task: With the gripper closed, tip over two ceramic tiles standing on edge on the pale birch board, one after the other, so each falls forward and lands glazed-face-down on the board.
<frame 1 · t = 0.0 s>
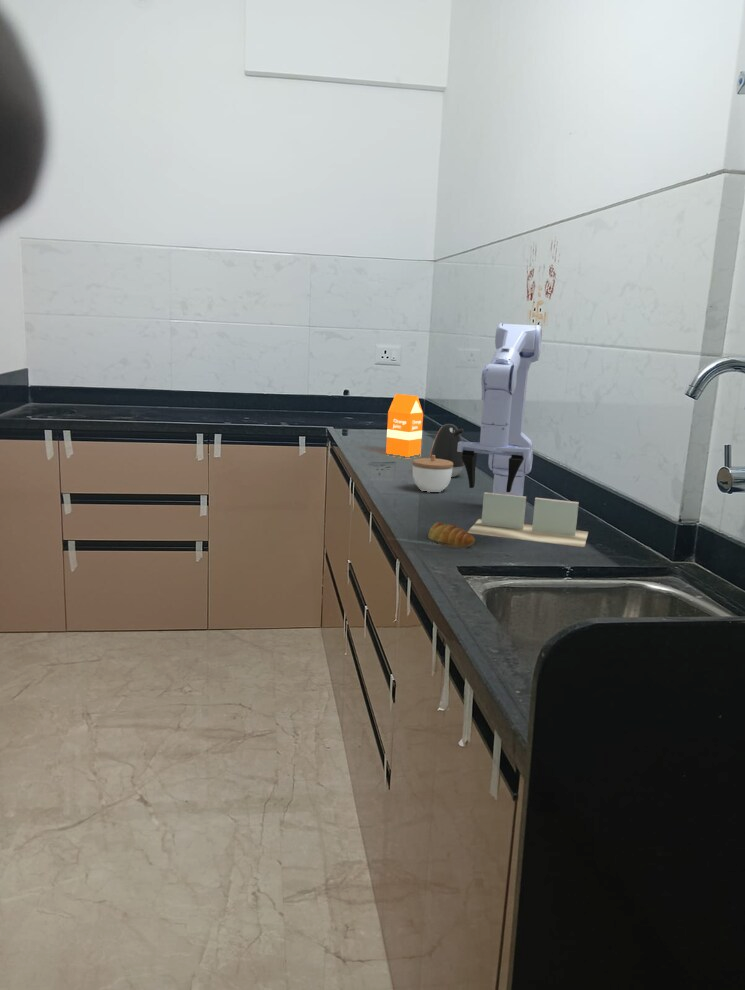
hand: (490, 489, 171), 10 cm above the worktop, tool pointing down, fingers open, 7 cm apart
tile b: (553, 532, 178), point 1 cm above the worktop, touching board
lidded jar: (430, 491, 219), on the worktop
board: (528, 534, 177), on the worktop
penguin figurine: (446, 476, 241), on the worktop
tile a: (502, 526, 181), point 1 cm above the worktop, touching board
orange juice: (403, 456, 274), on the worktop
pastry: (449, 544, 168), on the worktop
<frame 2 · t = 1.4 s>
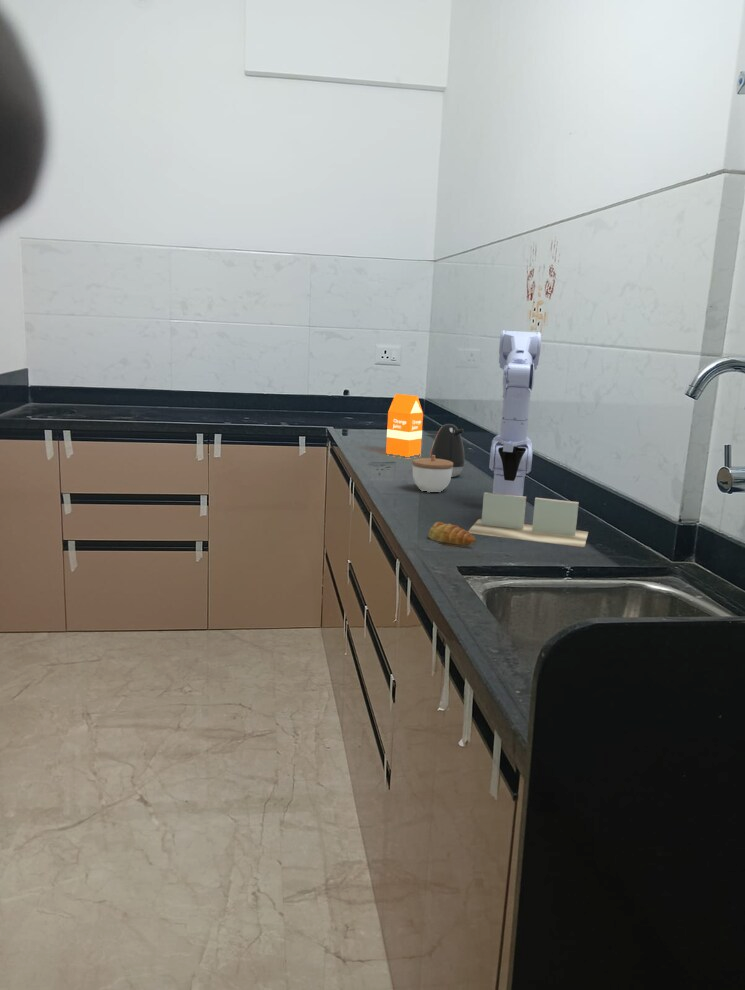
hand: (509, 480, 184), 10 cm above the worktop, tool pointing down, fingers closed
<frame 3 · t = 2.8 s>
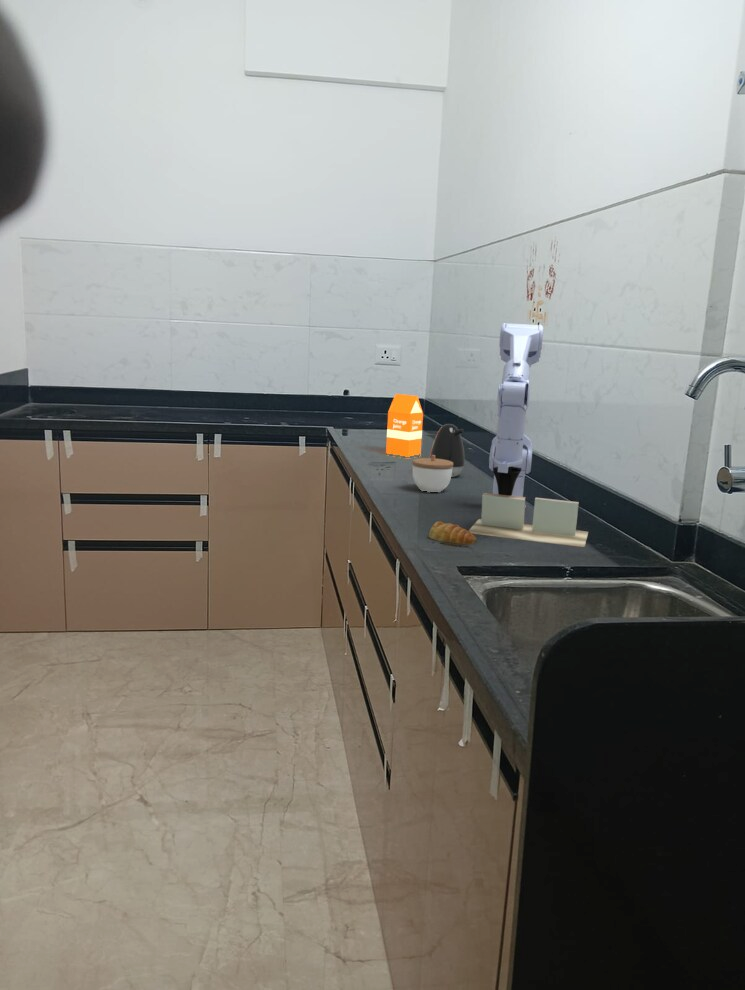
hand: (504, 500, 180), 6 cm above the worktop, tool pointing down, fingers closed
tile a: (502, 525, 181), point 1 cm above the worktop, tilted 13°, touching board
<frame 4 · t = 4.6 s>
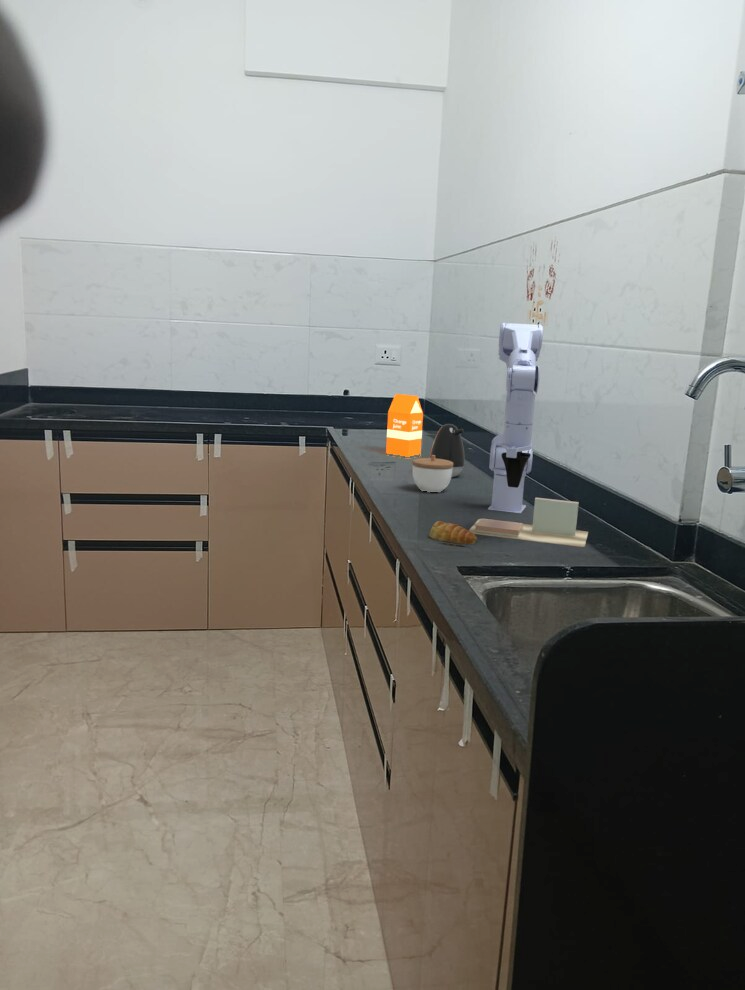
hand: (513, 486, 177), 10 cm above the worktop, tool pointing down, fingers closed
tile a: (502, 523, 180), point 1 cm above the worktop, tilted 90°, touching board
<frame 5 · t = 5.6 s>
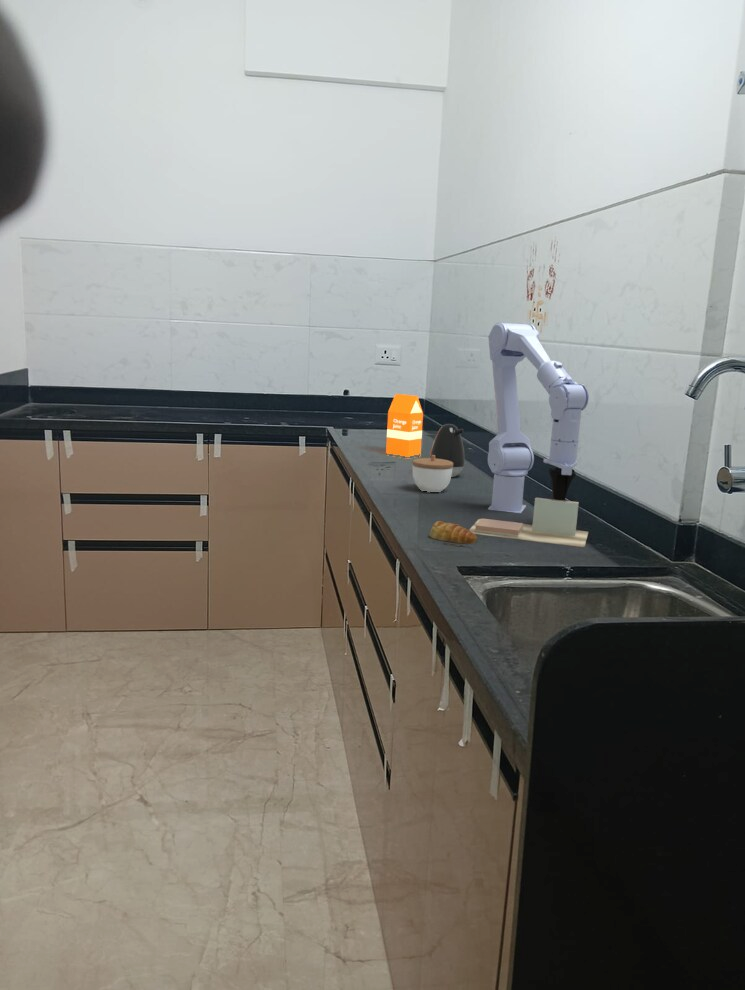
hand: (558, 502, 182), 6 cm above the worktop, tool pointing down, fingers closed
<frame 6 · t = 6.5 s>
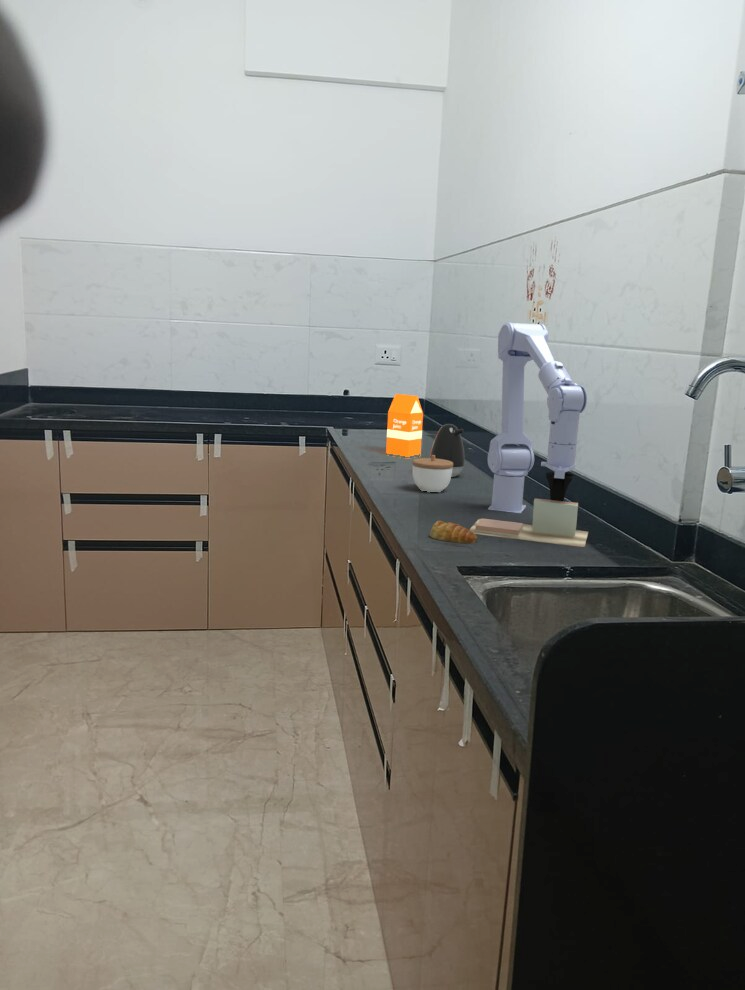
hand: (556, 506, 177), 6 cm above the worktop, tool pointing down, fingers closed
tile b: (553, 531, 178), point 1 cm above the worktop, tilted 14°, touching board
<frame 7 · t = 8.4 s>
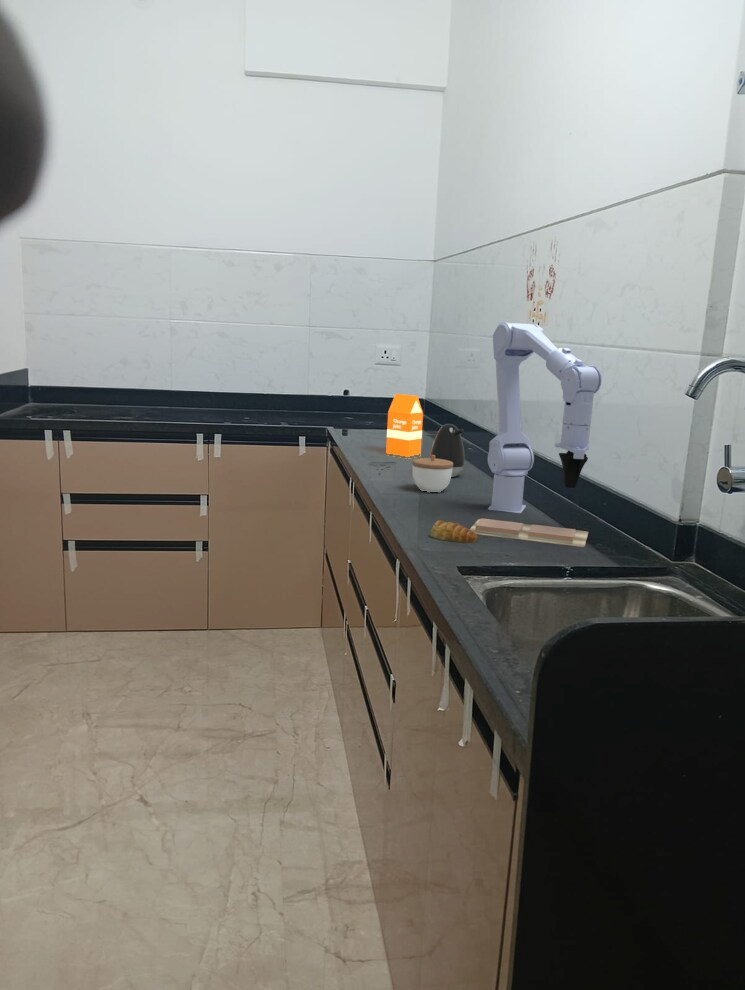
hand: (569, 487, 178), 10 cm above the worktop, tool pointing down, fingers closed
tile b: (553, 530, 177), point 1 cm above the worktop, tilted 90°, touching board
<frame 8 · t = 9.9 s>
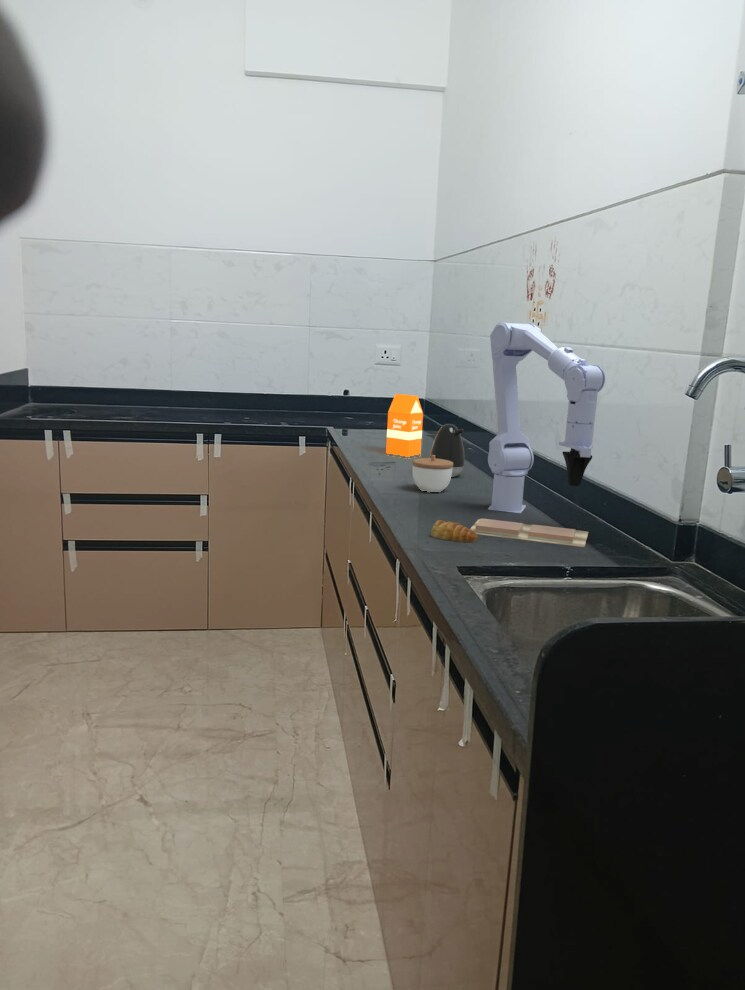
hand: (574, 485, 179), 10 cm above the worktop, tool pointing down, fingers closed
at the end: tile a tilted 90°; tile b tilted 90°; tile a inside the target area on the board (6.2 cm from its centre), point 1.3 cm above the board's base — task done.
